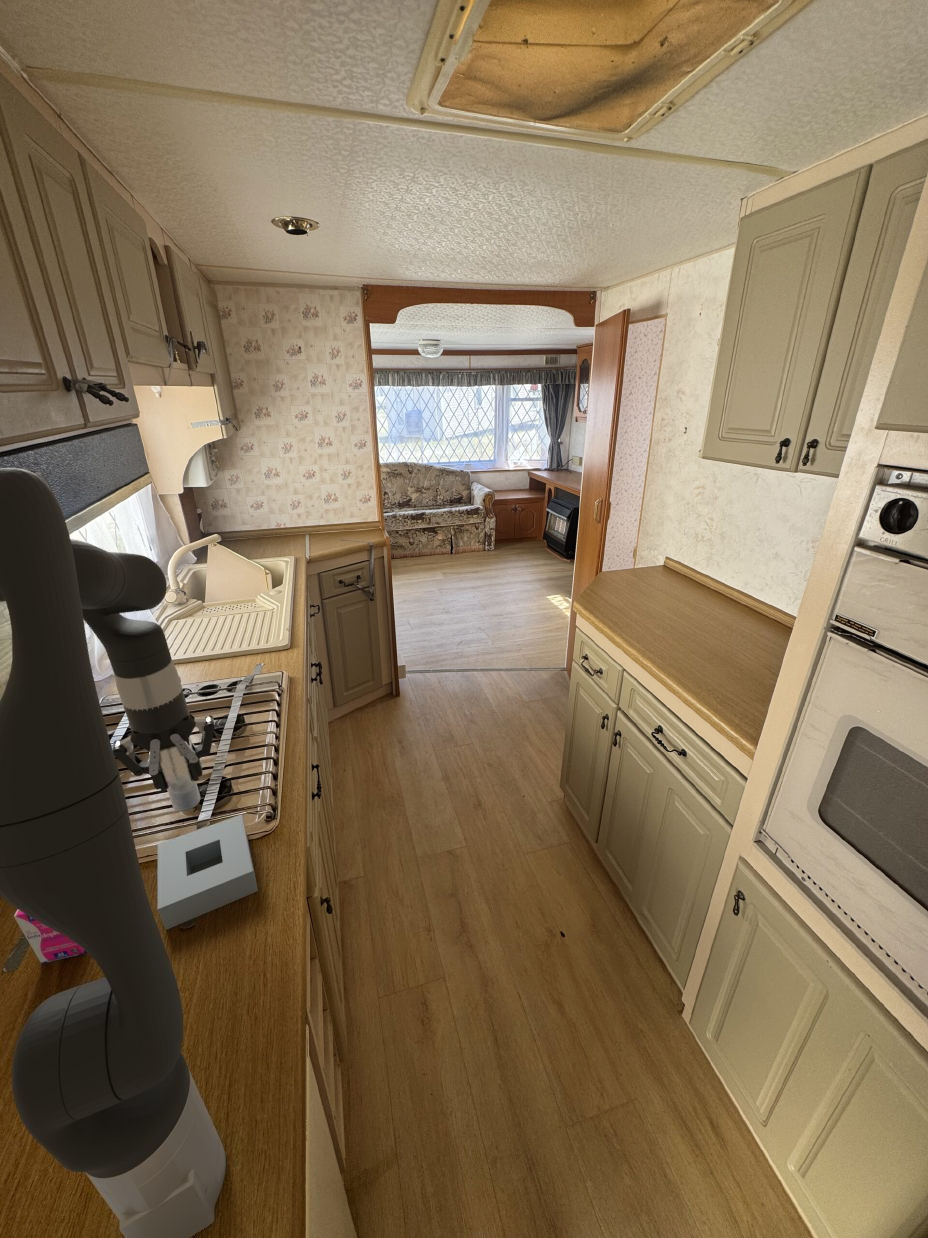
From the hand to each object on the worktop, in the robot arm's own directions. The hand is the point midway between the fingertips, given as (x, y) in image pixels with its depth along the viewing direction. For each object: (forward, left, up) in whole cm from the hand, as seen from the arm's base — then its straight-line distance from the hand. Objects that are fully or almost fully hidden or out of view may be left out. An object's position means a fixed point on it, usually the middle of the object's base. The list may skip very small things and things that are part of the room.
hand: (180, 782), depth 79 cm
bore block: (0, 0, -22) cm, 22 cm away
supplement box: (-2, +20, -22) cm, 30 cm away
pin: (0, 0, -4) cm, 4 cm away
